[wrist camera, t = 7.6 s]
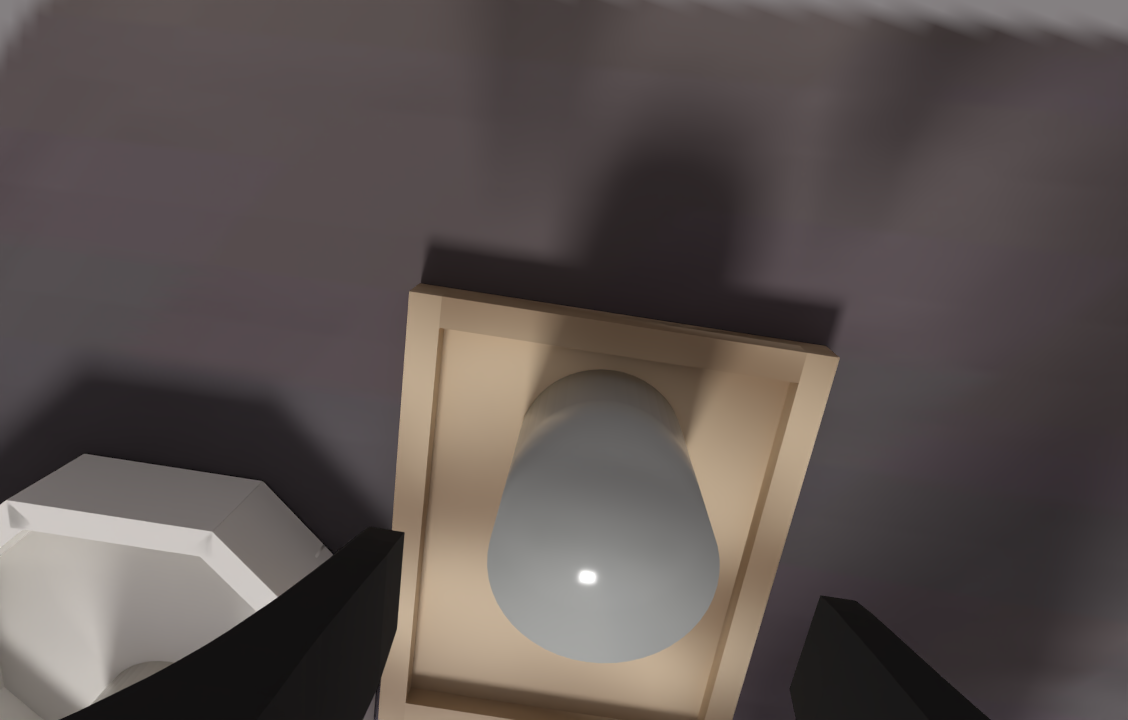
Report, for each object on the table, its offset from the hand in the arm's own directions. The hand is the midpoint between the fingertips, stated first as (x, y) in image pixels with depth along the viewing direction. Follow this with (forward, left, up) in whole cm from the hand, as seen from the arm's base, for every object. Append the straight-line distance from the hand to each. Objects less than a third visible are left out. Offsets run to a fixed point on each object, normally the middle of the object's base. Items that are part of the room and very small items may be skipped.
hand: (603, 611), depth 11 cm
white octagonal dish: (-9, +12, -7) cm, 17 cm away
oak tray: (-3, 0, -7) cm, 8 cm away
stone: (0, 0, -7) cm, 7 cm away
